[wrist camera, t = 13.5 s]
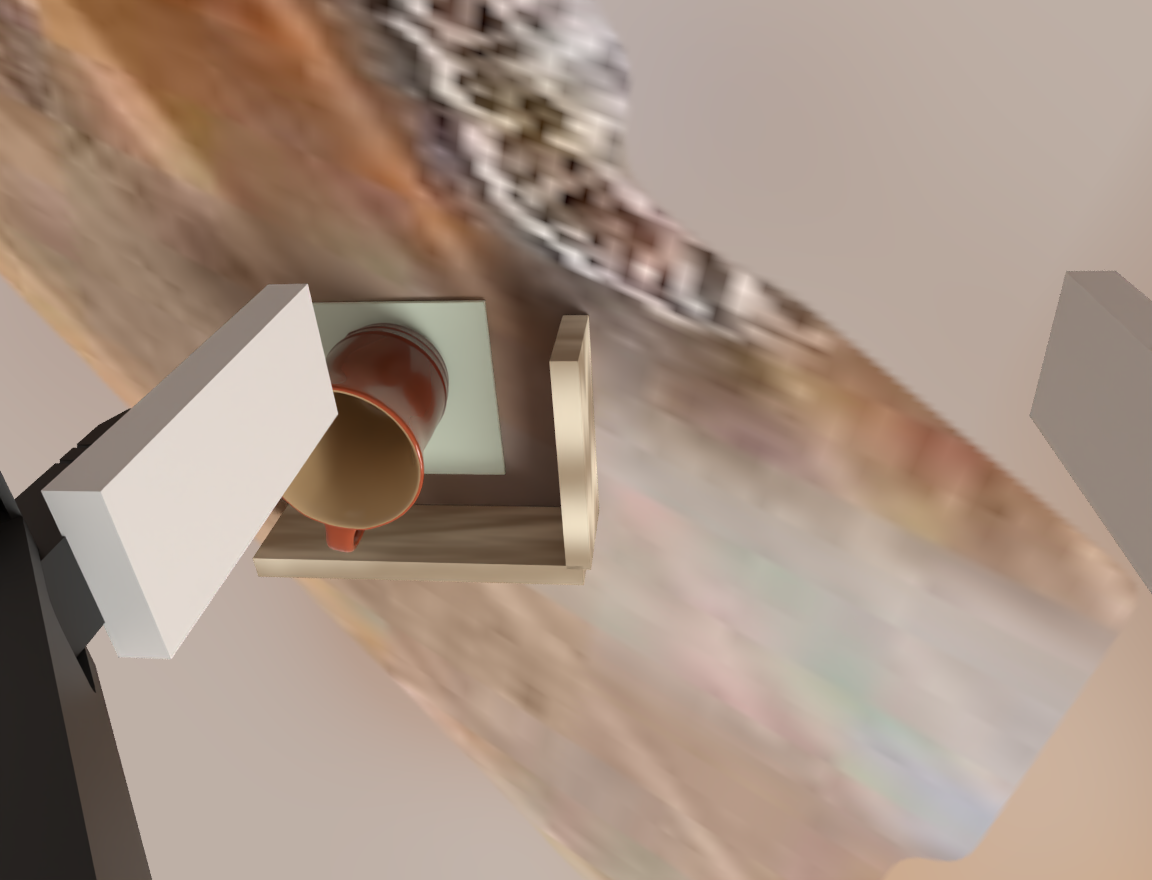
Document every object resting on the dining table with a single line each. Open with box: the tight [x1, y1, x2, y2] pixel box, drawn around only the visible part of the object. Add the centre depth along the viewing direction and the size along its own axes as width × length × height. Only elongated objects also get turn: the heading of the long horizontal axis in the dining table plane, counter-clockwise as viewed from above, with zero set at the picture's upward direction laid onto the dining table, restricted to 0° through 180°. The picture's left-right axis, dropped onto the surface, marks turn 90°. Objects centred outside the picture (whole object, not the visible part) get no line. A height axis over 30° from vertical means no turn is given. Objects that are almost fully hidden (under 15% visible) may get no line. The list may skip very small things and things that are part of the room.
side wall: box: [549, 315, 599, 570], centre depth 51 cm, size 14×2×6 cm, turn 3°
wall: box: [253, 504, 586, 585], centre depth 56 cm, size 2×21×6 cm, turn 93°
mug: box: [282, 323, 449, 553], centre depth 49 cm, size 12×9×10 cm
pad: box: [312, 300, 506, 475], centre depth 53 cm, size 12×12×1 cm
